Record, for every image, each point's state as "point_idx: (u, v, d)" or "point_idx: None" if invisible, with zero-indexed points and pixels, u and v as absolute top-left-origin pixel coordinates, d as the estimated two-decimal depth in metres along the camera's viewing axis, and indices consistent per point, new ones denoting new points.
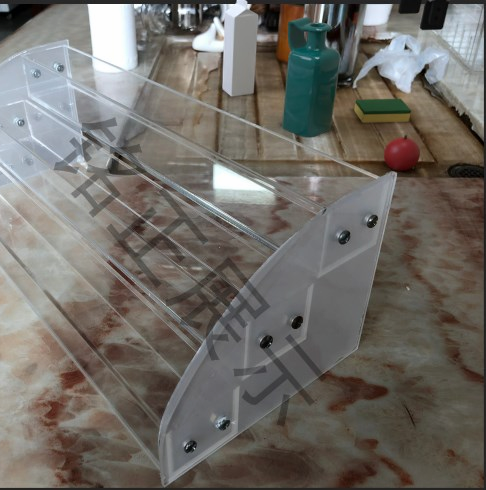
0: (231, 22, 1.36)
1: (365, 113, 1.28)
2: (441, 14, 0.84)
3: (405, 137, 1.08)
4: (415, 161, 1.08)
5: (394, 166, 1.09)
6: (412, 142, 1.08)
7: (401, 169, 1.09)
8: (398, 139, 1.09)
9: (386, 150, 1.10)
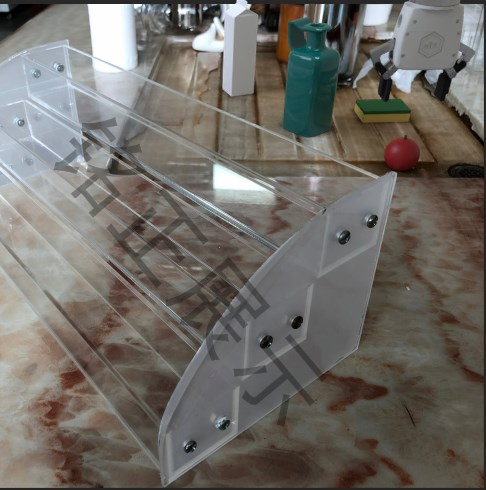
0: (231, 22, 1.36)
1: (365, 113, 1.28)
2: (381, 87, 1.02)
3: (405, 137, 1.08)
4: (415, 161, 1.08)
5: (394, 166, 1.09)
6: (412, 142, 1.08)
7: (401, 169, 1.09)
8: (398, 139, 1.09)
9: (386, 150, 1.10)
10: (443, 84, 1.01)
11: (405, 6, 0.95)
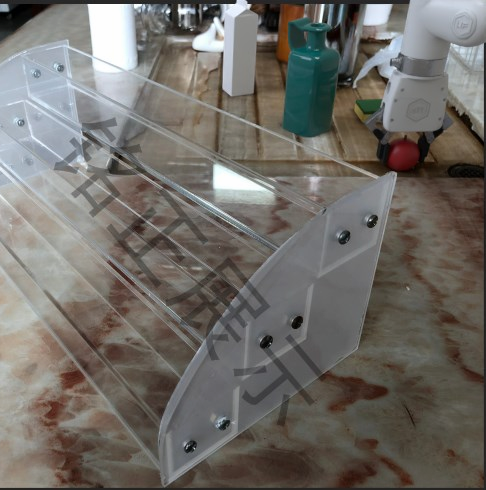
0: (231, 22, 1.36)
1: (365, 113, 1.28)
2: (379, 151, 1.09)
3: (405, 137, 1.08)
4: (415, 161, 1.08)
5: (394, 166, 1.09)
6: (412, 142, 1.08)
7: (401, 169, 1.09)
8: (398, 139, 1.09)
9: None
10: (422, 148, 1.08)
11: (393, 75, 1.01)
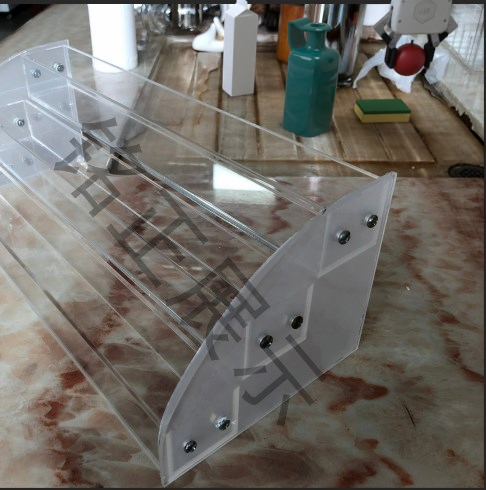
0: (231, 22, 1.36)
1: (365, 113, 1.28)
2: (387, 56, 1.15)
3: (412, 42, 1.14)
4: (421, 64, 1.14)
5: (401, 70, 1.15)
6: (418, 46, 1.13)
7: (408, 73, 1.15)
8: (405, 44, 1.14)
9: None
10: (428, 52, 1.14)
11: None
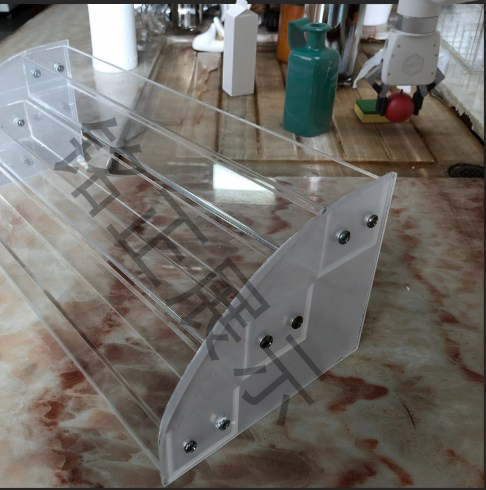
0: (231, 22, 1.36)
1: (365, 113, 1.28)
2: (378, 104, 1.21)
3: (401, 91, 1.20)
4: (410, 113, 1.20)
5: (391, 118, 1.21)
6: (407, 96, 1.19)
7: (397, 120, 1.21)
8: (395, 93, 1.20)
9: None
10: (416, 101, 1.20)
11: (390, 32, 1.13)
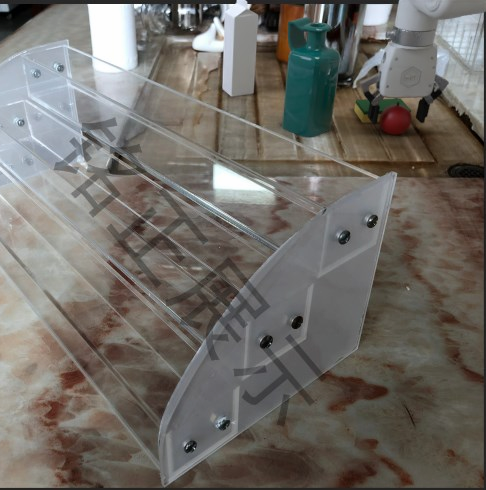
0: (231, 22, 1.36)
1: (365, 113, 1.28)
2: (370, 112, 1.22)
3: (398, 104, 1.21)
4: (407, 125, 1.21)
5: (388, 130, 1.22)
6: (404, 108, 1.21)
7: (395, 132, 1.22)
8: (391, 106, 1.22)
9: (381, 116, 1.23)
10: (422, 109, 1.21)
11: (388, 46, 1.14)
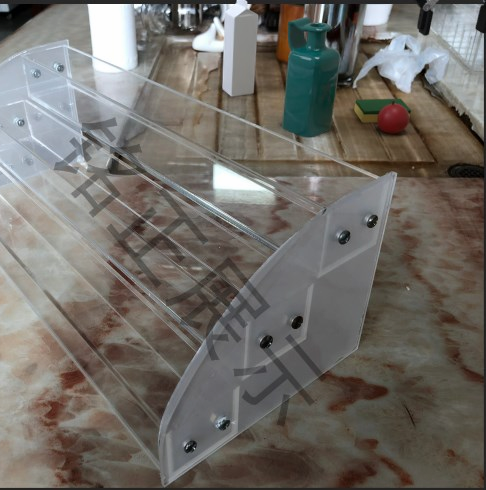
0: (231, 22, 1.36)
1: (365, 113, 1.28)
2: (421, 20, 1.00)
3: (393, 102, 1.22)
4: (405, 121, 1.21)
5: (387, 128, 1.22)
6: (400, 105, 1.22)
7: (394, 130, 1.22)
8: (387, 105, 1.23)
9: (378, 116, 1.24)
10: (485, 15, 0.99)
11: None
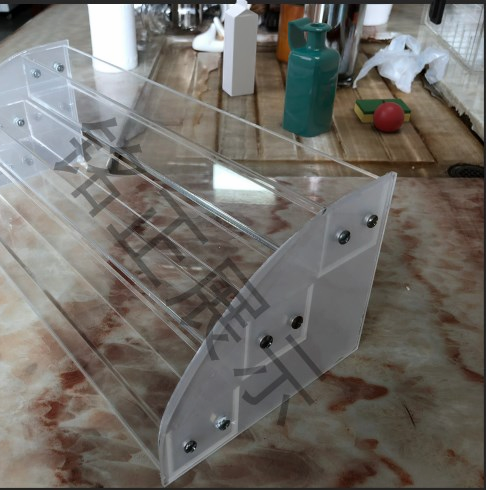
0: (231, 22, 1.36)
1: (365, 113, 1.28)
2: (433, 9, 0.96)
3: (383, 101, 1.24)
4: (400, 114, 1.22)
5: (384, 125, 1.23)
6: (391, 102, 1.23)
7: (392, 125, 1.22)
8: (379, 106, 1.25)
9: (373, 118, 1.25)
10: None
11: None
